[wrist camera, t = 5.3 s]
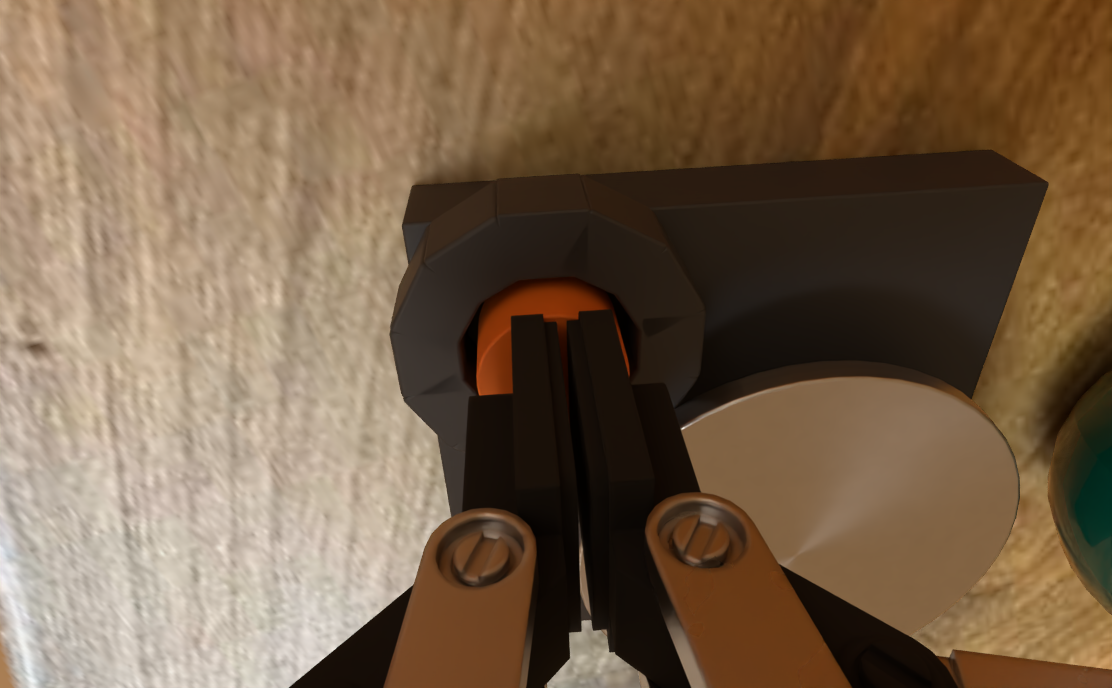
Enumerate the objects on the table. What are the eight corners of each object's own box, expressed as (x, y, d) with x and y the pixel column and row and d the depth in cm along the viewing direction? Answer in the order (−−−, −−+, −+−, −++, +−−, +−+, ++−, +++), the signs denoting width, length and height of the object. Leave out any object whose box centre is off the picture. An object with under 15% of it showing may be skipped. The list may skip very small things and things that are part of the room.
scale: (463, 574, 21) (458, 688, 18) (392, 148, 14) (366, 223, 11) (872, 540, 22) (931, 645, 19) (1004, 111, 15) (1130, 174, 12)
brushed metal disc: (578, 675, 18) (581, 697, 18) (568, 378, 13) (571, 398, 13) (939, 642, 19) (952, 663, 18) (1070, 341, 13) (1092, 359, 13)
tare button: (484, 385, 14) (484, 445, 13) (471, 269, 13) (468, 320, 11) (615, 376, 14) (628, 433, 13) (616, 259, 13) (631, 310, 12)
